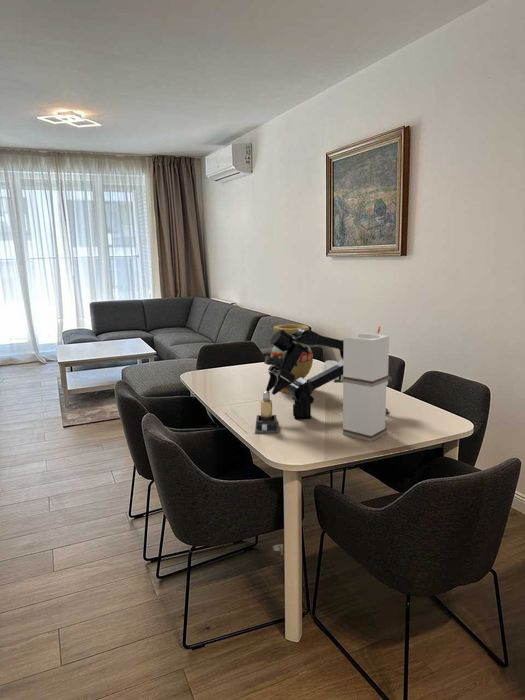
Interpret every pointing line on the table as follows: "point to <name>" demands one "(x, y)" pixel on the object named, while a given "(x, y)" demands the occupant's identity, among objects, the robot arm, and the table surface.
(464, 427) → the table surface
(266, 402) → the gold perfume bottle
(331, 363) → the hinge
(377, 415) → the white banded pillar
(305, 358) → the vase
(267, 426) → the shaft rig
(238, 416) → the table surface
